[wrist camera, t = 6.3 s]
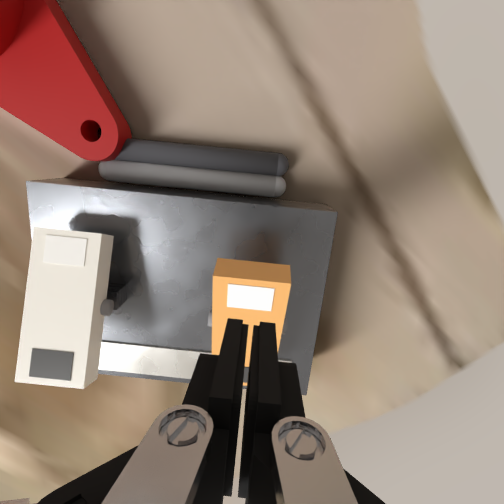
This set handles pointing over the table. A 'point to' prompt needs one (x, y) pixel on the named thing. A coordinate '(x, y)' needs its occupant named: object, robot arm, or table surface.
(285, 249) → the breaker strip
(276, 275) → the breaker lever
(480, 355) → the table surface
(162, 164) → the twin grey rods
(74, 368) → the block
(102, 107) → the lever
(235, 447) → the robot arm
